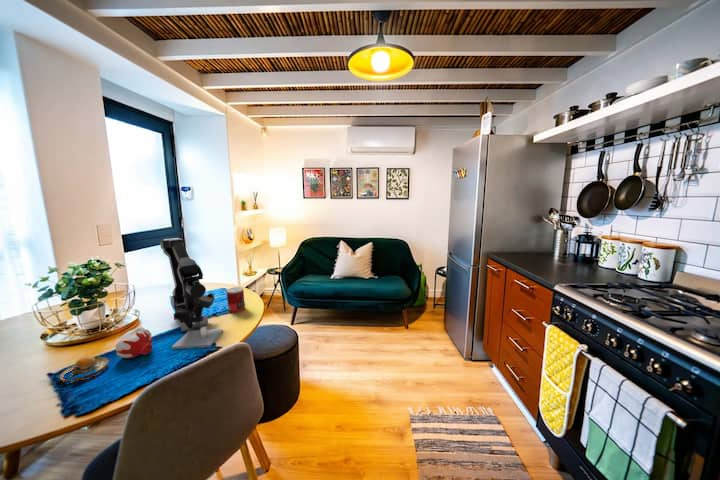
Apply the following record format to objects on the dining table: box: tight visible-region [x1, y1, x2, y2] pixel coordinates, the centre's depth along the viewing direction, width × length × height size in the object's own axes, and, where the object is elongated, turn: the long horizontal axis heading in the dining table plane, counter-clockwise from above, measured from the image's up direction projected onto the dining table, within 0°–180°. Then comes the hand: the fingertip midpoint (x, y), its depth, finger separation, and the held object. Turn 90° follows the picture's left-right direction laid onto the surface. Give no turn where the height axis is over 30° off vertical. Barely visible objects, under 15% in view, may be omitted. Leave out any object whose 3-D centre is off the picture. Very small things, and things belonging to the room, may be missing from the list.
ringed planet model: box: [57, 355, 110, 383], centre depth 86 cm, size 12×12×8 cm
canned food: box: [226, 286, 246, 314], centre depth 133 cm, size 8×8×11 cm
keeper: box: [171, 326, 224, 350], centre depth 106 cm, size 14×12×5 cm
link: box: [180, 315, 209, 333], centre depth 116 cm, size 8×7×4 cm
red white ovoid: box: [115, 325, 153, 360], centre depth 96 cm, size 9×11×15 cm
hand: (195, 324), depth 116 cm, fingers closed on link, 7 cm apart
